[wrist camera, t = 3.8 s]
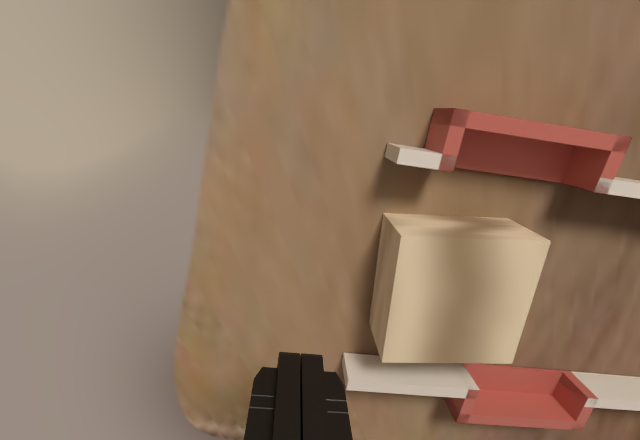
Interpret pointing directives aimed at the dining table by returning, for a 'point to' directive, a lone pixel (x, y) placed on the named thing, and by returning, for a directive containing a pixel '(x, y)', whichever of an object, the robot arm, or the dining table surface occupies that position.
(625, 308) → the dining table surface
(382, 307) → the birch block
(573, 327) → the dining table surface
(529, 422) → the trap lane
